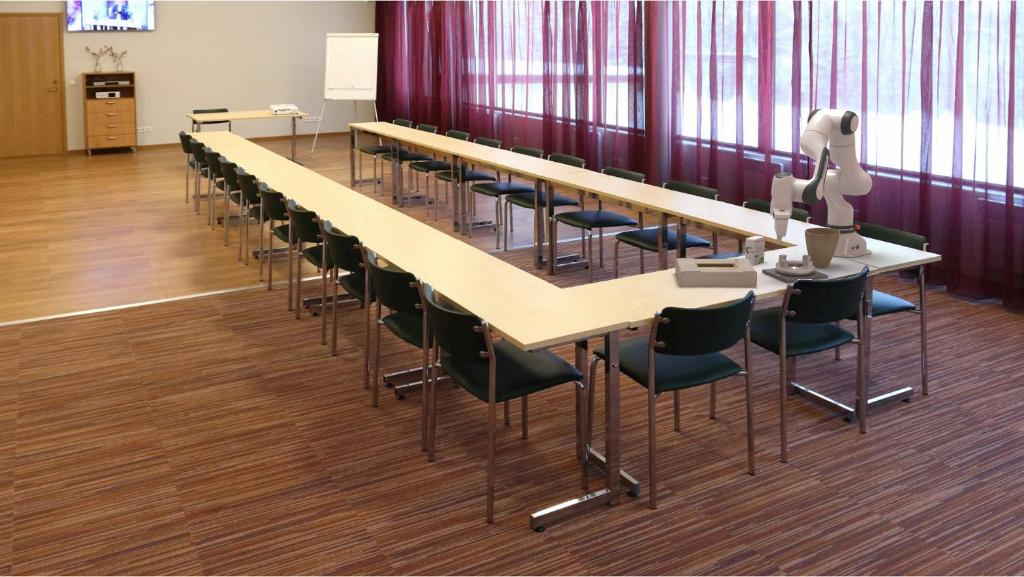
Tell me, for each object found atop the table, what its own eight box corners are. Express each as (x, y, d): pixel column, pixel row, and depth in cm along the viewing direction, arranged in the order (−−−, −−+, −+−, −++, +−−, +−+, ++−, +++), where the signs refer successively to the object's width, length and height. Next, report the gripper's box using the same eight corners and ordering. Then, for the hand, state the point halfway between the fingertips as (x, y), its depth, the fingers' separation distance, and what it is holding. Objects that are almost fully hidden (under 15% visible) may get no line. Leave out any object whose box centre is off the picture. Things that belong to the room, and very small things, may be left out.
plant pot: (795, 264, 429) (797, 229, 425) (822, 260, 434) (825, 226, 430) (817, 271, 416) (819, 235, 412) (844, 268, 421) (847, 232, 417)
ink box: (755, 260, 438) (756, 235, 435) (764, 262, 434) (765, 236, 431) (744, 263, 433) (745, 238, 430) (753, 265, 429) (754, 239, 426)
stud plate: (801, 268, 422) (801, 264, 421) (827, 278, 404) (828, 274, 404) (761, 272, 416) (762, 269, 415) (787, 283, 398) (787, 279, 398)
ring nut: (799, 265, 419) (800, 252, 418) (822, 274, 404) (823, 260, 403) (767, 269, 414) (768, 255, 413) (789, 277, 400) (790, 263, 398)
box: (748, 274, 417) (674, 273, 419) (749, 256, 415) (675, 256, 417) (757, 289, 394) (679, 288, 397) (758, 270, 392) (680, 270, 395)
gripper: (771, 206, 414) (770, 238, 418) (774, 215, 395) (772, 247, 398) (787, 207, 413) (785, 238, 417) (790, 215, 394) (788, 248, 397)
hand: (779, 243), depth 407 cm, fingers closed
